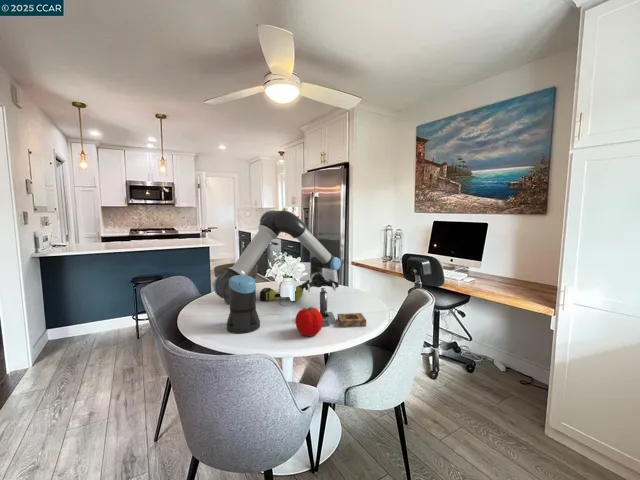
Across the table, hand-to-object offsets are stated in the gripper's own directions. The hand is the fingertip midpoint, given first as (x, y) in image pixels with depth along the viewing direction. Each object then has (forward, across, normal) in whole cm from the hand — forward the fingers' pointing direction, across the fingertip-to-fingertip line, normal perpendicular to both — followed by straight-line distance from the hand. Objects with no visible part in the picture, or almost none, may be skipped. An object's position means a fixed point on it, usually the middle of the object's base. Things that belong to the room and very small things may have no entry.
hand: (322, 289), depth 156 cm
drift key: (+18, +3, -13) cm, 22 cm away
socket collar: (+10, +1, -13) cm, 16 cm away
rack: (+15, -12, -13) cm, 24 cm away
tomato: (+25, +9, -13) cm, 30 cm away
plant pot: (-27, +49, -13) cm, 57 cm away
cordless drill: (-35, +21, -14) cm, 43 cm away
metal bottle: (+10, +1, -13) cm, 17 cm away
